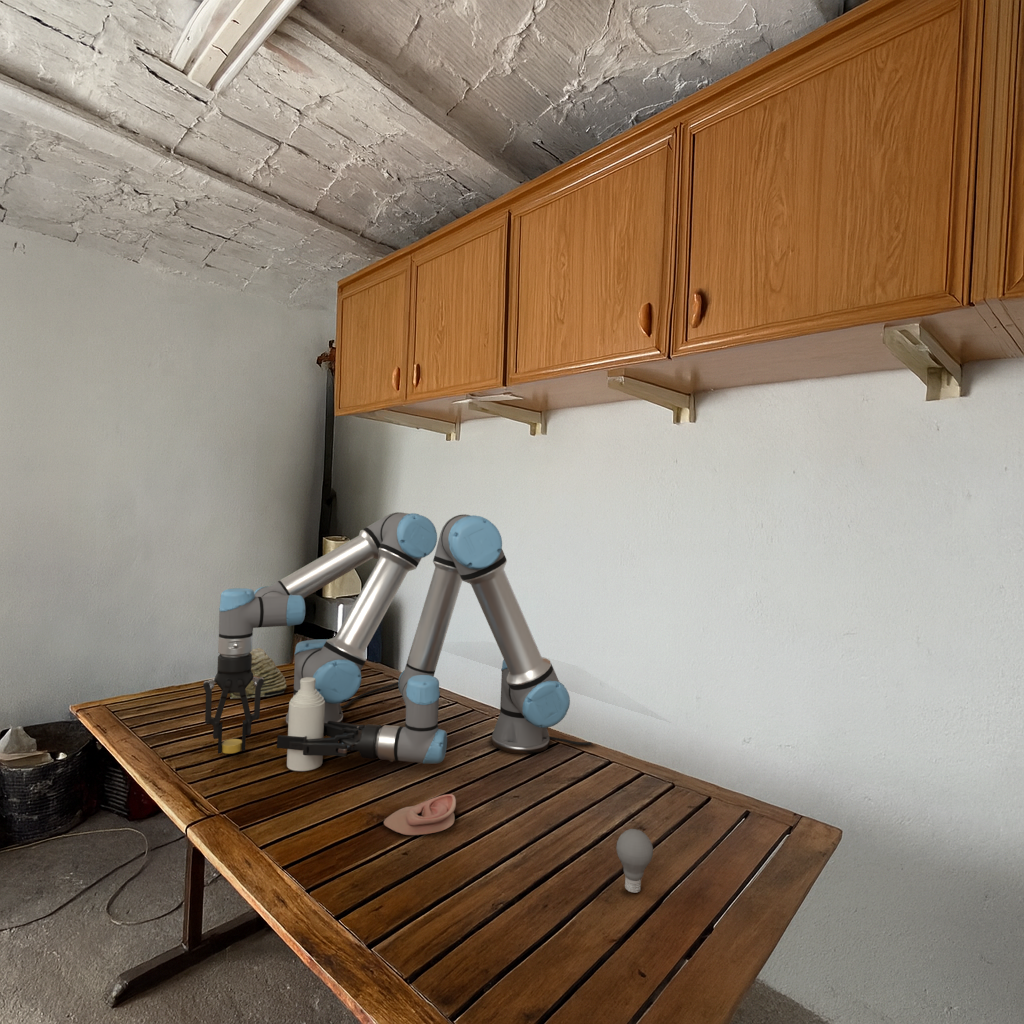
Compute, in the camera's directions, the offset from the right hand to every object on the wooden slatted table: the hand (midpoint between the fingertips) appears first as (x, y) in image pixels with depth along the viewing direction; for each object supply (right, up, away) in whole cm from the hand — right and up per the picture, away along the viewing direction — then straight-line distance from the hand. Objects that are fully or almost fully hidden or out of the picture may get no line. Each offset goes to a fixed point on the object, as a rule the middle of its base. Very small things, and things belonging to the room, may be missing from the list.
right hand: (286, 734), depth 150 cm
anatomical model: (+35, -9, -25) cm, 44 cm away
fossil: (-27, -5, +48) cm, 55 cm away
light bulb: (+74, -11, -44) cm, 86 cm away
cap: (-14, -3, +2) cm, 15 cm away
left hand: (-14, -5, +2) cm, 15 cm away
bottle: (+4, -7, 0) cm, 8 cm away
